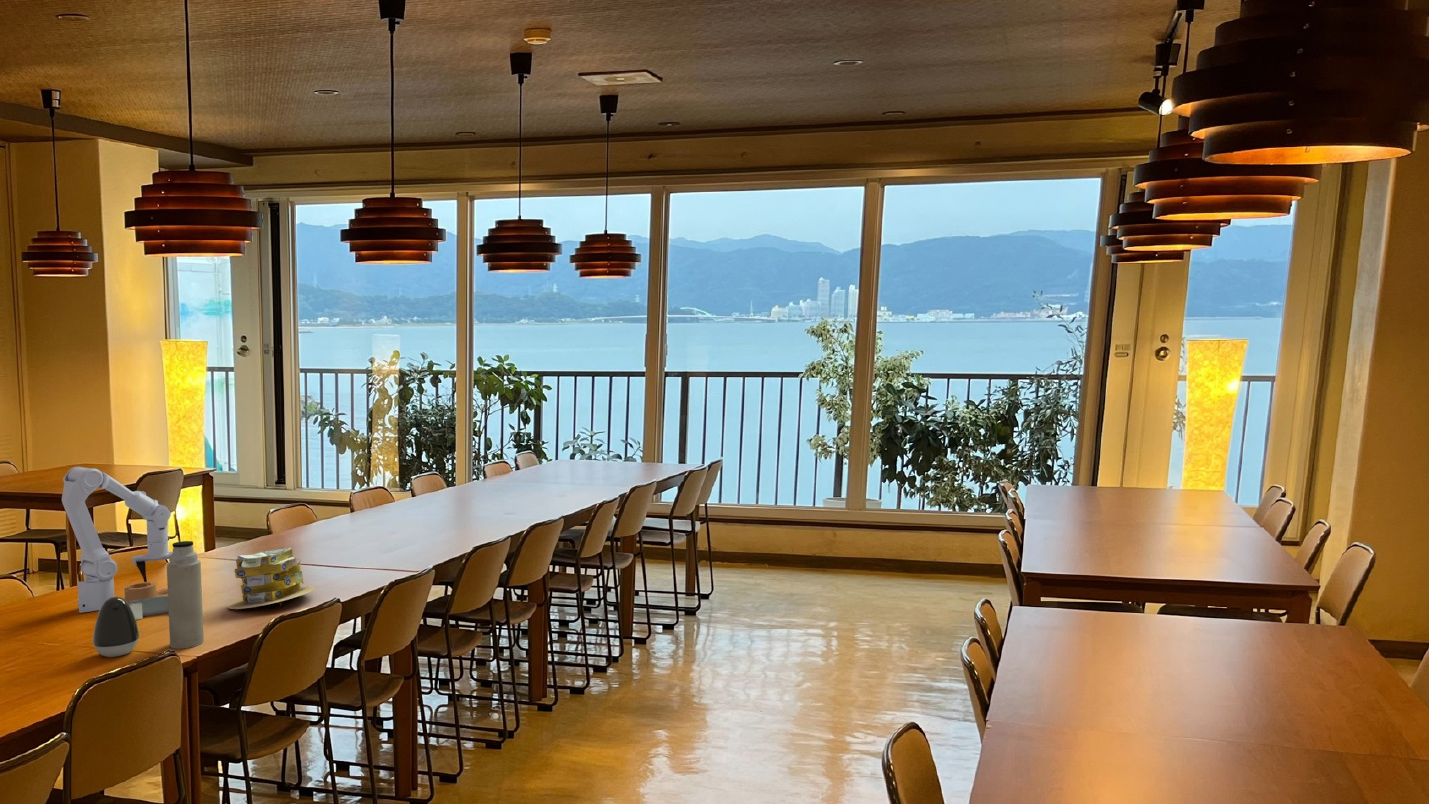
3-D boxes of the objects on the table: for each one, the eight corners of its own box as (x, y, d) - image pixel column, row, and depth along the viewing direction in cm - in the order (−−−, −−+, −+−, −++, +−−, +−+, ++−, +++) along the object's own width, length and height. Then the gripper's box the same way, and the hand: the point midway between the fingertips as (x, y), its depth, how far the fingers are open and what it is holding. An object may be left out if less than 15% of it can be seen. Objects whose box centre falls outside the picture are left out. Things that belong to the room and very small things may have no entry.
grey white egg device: (94, 663, 235) (91, 604, 234) (92, 652, 244) (90, 595, 243) (141, 655, 241) (138, 598, 240) (138, 644, 250) (135, 589, 249)
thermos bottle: (180, 639, 254) (175, 539, 252) (209, 638, 254) (205, 538, 253) (163, 648, 246) (159, 545, 244) (194, 648, 246) (189, 545, 245)
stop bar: (130, 620, 272) (129, 603, 271) (130, 616, 275) (129, 600, 275) (196, 611, 281) (195, 594, 281) (195, 607, 285) (194, 591, 284)
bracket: (137, 612, 280) (136, 590, 280) (119, 609, 284) (118, 587, 283) (191, 597, 297) (190, 576, 296) (174, 594, 300) (173, 574, 300)
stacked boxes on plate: (209, 610, 282) (206, 556, 281) (270, 589, 306) (269, 539, 304) (274, 617, 275) (271, 562, 273) (332, 595, 298) (330, 544, 297)
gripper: (182, 536, 307) (184, 576, 308) (131, 541, 299) (133, 582, 300) (184, 539, 301) (185, 580, 302) (131, 545, 293) (133, 587, 294)
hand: (159, 582), depth 301 cm, fingers open, 7 cm apart
